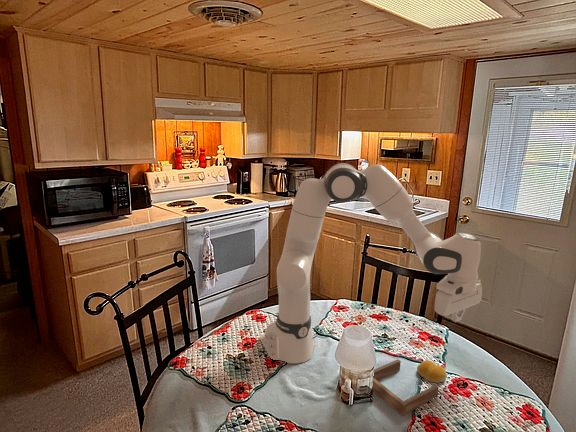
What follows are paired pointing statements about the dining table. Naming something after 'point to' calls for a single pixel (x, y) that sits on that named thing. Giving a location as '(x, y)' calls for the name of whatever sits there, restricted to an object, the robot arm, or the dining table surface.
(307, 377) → the dining table surface
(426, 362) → the bread roll
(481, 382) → the dining table surface
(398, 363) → the tray
